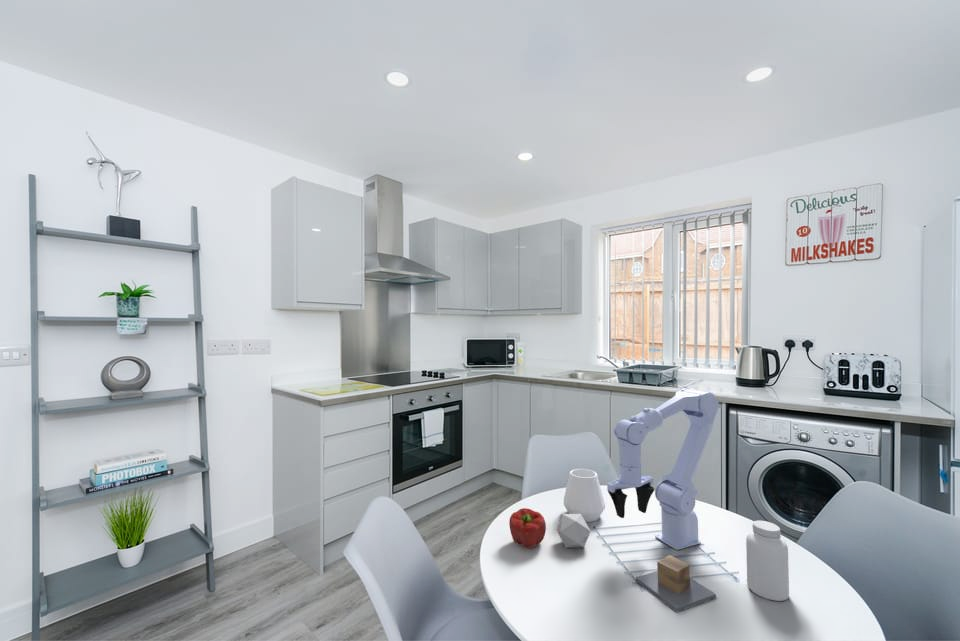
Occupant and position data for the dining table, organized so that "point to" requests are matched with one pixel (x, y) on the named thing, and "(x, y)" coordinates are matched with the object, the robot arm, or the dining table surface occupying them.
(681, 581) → the tan cube
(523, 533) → the vegetable
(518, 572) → the dining table surface
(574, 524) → the die
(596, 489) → the white vase
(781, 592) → the pill bottle
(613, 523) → the dining table surface
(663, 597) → the slate coaster
